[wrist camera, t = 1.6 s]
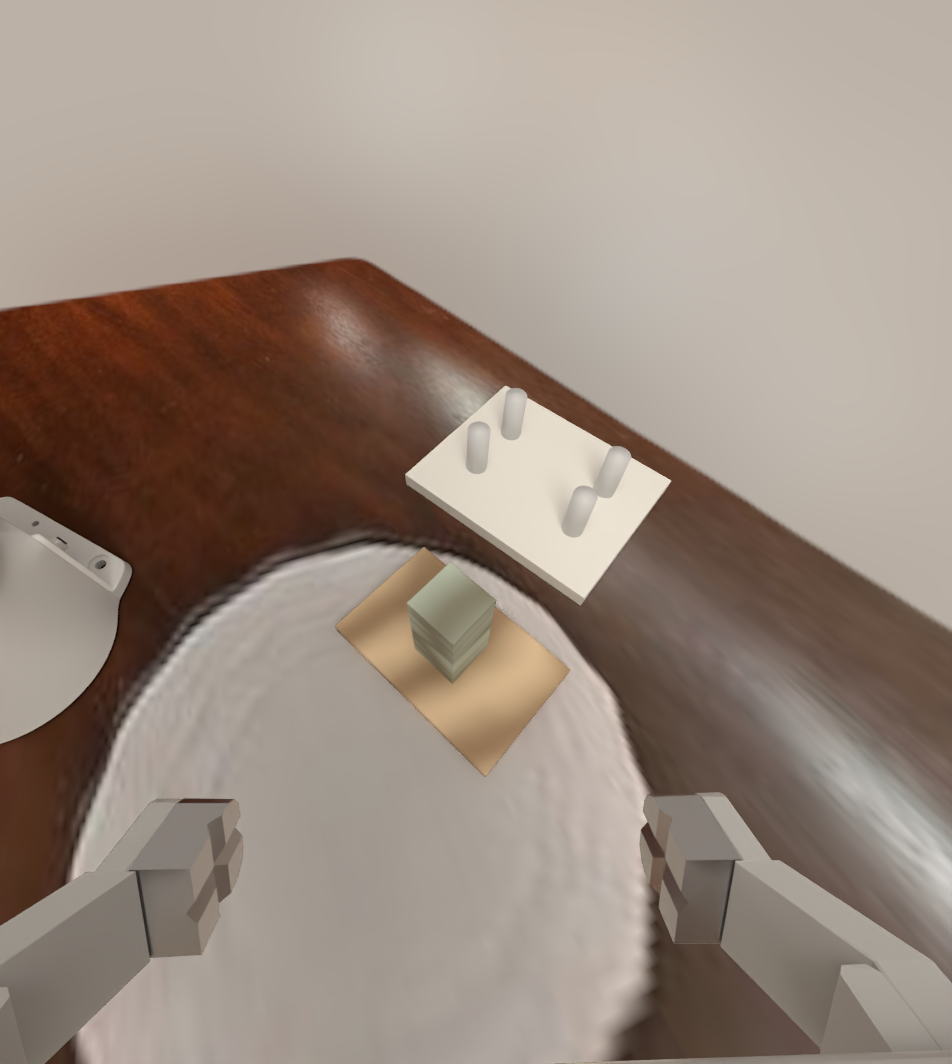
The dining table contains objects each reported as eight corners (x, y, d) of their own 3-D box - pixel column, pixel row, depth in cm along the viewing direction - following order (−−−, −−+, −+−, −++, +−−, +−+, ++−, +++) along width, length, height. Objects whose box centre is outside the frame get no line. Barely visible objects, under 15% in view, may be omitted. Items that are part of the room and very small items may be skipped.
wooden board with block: (337, 631, 41) (307, 575, 32) (424, 553, 45) (418, 485, 36) (484, 777, 35) (496, 758, 27) (567, 674, 40) (600, 628, 31)
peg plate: (406, 484, 48) (400, 438, 43) (504, 395, 55) (510, 346, 50) (580, 605, 42) (600, 571, 37) (665, 490, 49) (692, 446, 44)
